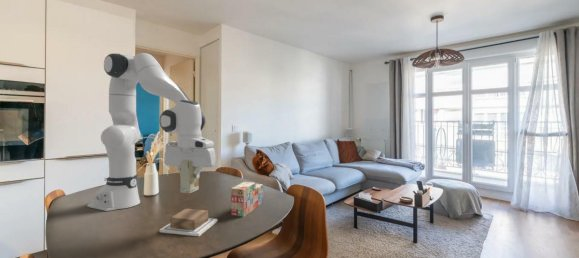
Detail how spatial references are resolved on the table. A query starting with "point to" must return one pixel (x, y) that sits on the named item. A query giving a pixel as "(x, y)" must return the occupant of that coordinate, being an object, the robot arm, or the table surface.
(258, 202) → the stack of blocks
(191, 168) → the skincare box
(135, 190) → the robot arm
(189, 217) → the walnut plinth
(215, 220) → the white flat slab
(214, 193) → the table surface
